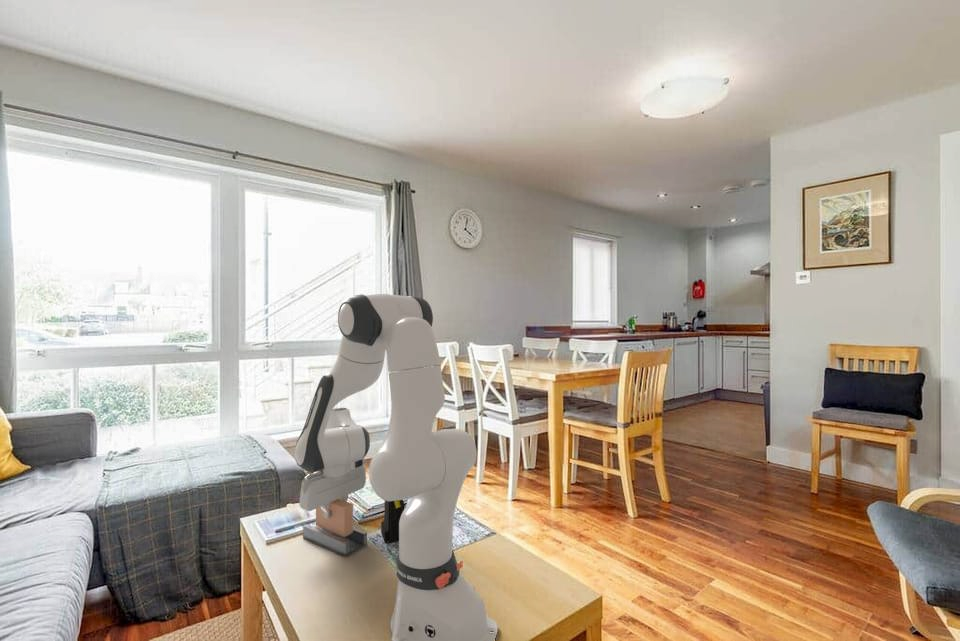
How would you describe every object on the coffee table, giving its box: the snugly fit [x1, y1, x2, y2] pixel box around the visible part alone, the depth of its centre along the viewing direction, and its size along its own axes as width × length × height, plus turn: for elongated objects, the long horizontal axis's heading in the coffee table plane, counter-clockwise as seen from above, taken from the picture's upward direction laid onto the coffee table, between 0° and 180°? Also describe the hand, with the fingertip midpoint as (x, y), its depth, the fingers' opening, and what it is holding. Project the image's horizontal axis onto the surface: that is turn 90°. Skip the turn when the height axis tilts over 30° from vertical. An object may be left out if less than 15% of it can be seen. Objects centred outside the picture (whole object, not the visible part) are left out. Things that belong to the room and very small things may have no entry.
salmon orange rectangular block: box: [315, 499, 354, 537], centre depth 124 cm, size 12×3×8 cm, turn 57°
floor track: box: [302, 523, 368, 558], centre depth 124 cm, size 18×7×4 cm, turn 57°
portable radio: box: [380, 500, 406, 543], centre depth 127 cm, size 8×6×25 cm
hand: (334, 514), depth 124 cm, fingers closed on salmon orange rectangular block, 3 cm apart
